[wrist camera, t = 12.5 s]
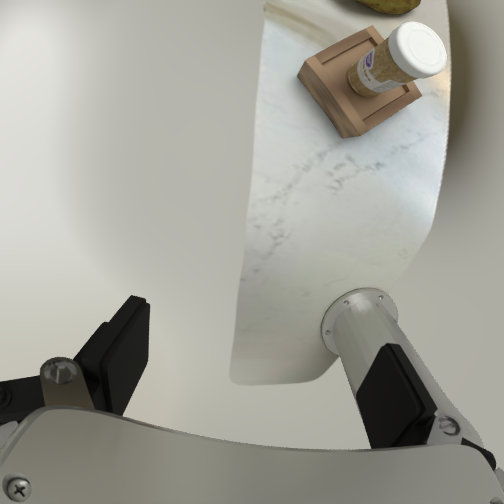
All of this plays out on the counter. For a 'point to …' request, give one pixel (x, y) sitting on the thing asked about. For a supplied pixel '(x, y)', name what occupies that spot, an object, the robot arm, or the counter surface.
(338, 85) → the wooden box
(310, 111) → the counter surface
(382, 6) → the potato
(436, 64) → the sprinkles bottle
